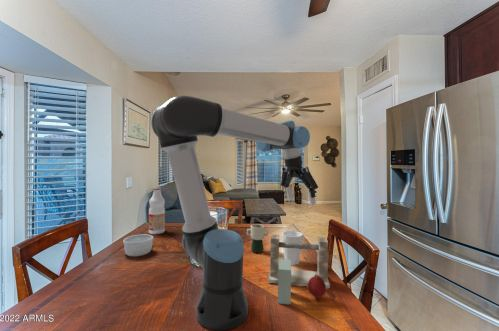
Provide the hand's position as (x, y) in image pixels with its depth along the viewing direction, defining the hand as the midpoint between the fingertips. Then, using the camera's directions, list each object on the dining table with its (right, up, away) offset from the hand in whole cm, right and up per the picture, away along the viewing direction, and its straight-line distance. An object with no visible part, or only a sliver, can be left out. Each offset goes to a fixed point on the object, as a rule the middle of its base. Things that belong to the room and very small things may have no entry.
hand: (301, 202), depth 108 cm
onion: (-1, -28, -28) cm, 40 cm away
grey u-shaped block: (-12, -28, -28) cm, 41 cm away
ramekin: (-78, -26, +9) cm, 83 cm away
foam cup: (-4, -27, 0) cm, 28 cm away
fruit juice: (-82, -26, +42) cm, 95 cm away
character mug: (-20, -27, +13) cm, 36 cm away
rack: (-5, -27, -16) cm, 32 cm away
